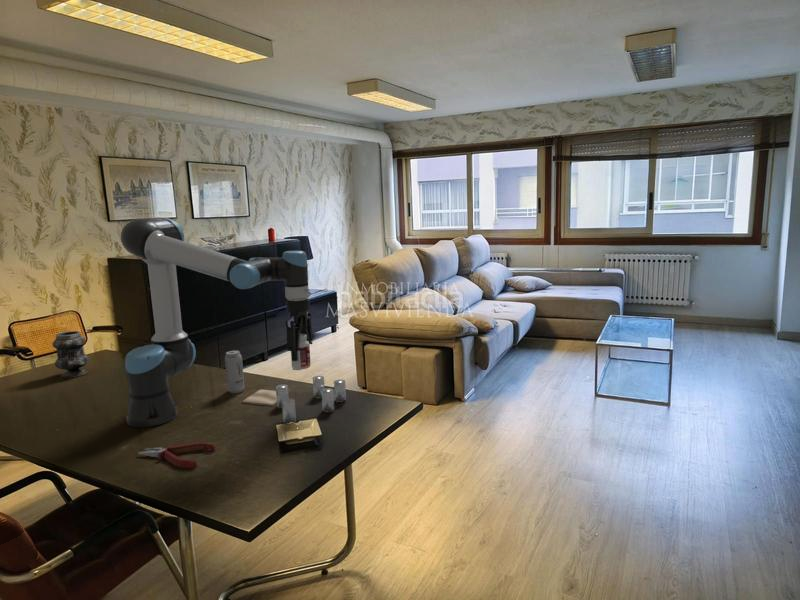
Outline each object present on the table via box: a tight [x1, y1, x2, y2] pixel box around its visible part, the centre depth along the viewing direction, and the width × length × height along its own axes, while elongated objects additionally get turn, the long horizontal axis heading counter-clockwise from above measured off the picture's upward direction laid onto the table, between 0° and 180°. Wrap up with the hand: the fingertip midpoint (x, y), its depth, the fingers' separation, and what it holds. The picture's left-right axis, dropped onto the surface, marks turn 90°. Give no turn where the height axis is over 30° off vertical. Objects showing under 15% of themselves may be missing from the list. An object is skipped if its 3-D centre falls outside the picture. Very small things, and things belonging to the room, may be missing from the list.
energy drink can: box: [224, 350, 245, 394], centre depth 192 cm, size 6×6×15 cm
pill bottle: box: [290, 334, 311, 371], centre depth 172 cm, size 6×6×11 cm
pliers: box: [137, 442, 216, 469], centre depth 144 cm, size 12×20×3 cm, turn 79°
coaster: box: [241, 389, 290, 407], centre depth 185 cm, size 12×12×1 cm
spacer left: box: [275, 384, 289, 409], centre depth 177 cm, size 4×4×7 cm
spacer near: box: [281, 397, 297, 424], centre depth 165 cm, size 4×4×7 cm
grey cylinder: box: [333, 379, 347, 402], centre depth 181 cm, size 4×4×7 cm
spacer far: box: [312, 375, 326, 398], centre depth 185 cm, size 4×4×7 cm
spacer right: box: [321, 387, 335, 411], centre depth 172 cm, size 4×4×7 cm
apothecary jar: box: [51, 330, 90, 379], centre depth 216 cm, size 12×12×18 cm
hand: (301, 366), depth 173 cm, fingers closed on pill bottle, 6 cm apart
